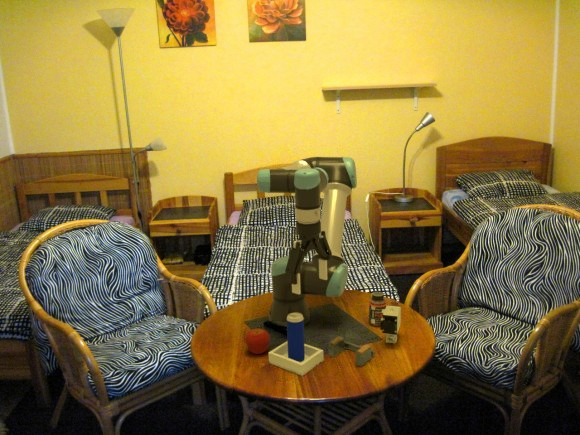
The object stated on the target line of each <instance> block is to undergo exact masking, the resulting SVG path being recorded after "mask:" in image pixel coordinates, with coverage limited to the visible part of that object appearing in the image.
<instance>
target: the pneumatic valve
mask: <svg viewBox="0 0 580 435" xmlns="http://www.w3.org/2000/svg"><path fill="white" fill-rule="evenodd" d="M382 313H383V316H382V319H381V324H380V326H379V327H380V331H381V332H382V334H385V343H387V344H388V343H389V344H397V340H398V333H399V328H400V326H401V321H402V306H401V305H395V304H394V305H393V304H392V305H391V304H386V309H383V310H382Z"/></svg>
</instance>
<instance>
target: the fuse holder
mask: <svg viewBox="0 0 580 435" xmlns="http://www.w3.org/2000/svg"><path fill="white" fill-rule="evenodd" d="M345 348H346V350H348V349H349V350H348V351H351V350H352V352H355V366H357V367H359V366H360V368H362V367H363V366H364V365H366V364H367V363H368V362H370V360H372V358H375V351H376V350H373V349H372V346H370V345H368V344H364V345H363V346H361V345H359V344H355V343H352V342H349V341H346V340H345V338H343V337H342V336H340V335H339V336H336V337H335V338H333V339H332V340H331V341H329V343H328V357H331V356H332V357H331V358H335V357H337V356H338V355H339V354H341V353H342V352H343V351H345ZM341 351H342V352H341ZM340 352H341V353H340ZM337 354H338V355H337ZM336 355H337V356H336Z"/></svg>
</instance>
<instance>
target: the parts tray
mask: <svg viewBox="0 0 580 435" xmlns="http://www.w3.org/2000/svg"><path fill="white" fill-rule="evenodd" d="M304 351H305V359H304V361H303V362H301V363H300V362H298V361H295V360H292V359H290V358H288V341H287V340H286V341H285V342H283V343H282V344H280V345H279V346H277V347H275V348H273V349H272V350H270V351H269V352H268V353H267V354H268V363H269V365H273V366H275V367H278V368H279V369H282V370H285V371H288V372H291V373H293V374H296V375H298V376H301V377H303V376H304V375H306V374H307V373H308V372H310V371H311V370H313V369H314V368H316V367H317V366H318V365H320V364H321V363H323V362H324V350H323V349H321V348H319V347H315V346H313V345H309V344H306V343H304ZM320 362H321V363H320ZM319 363H320V364H319ZM316 365H317V366H316Z"/></svg>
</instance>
